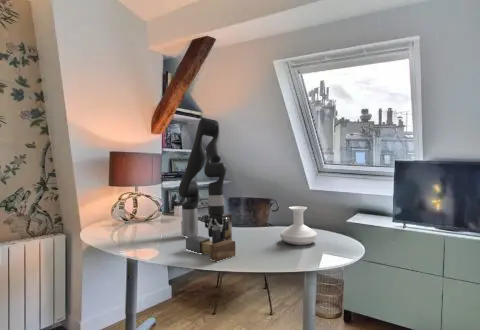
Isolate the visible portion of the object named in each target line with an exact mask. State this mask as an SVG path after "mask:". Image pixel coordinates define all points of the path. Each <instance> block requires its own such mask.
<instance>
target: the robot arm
mask: <svg viewBox="0 0 480 330" xmlns="http://www.w3.org/2000/svg"><path fill="white" fill-rule="evenodd" d="M220 128H221V127H220V123H219V121H218V120H215V119H210V118H206V117H202V118H201V119H200V120H199V122H198V124H197V128H196V133H195V138H194V142H193V145H192V147H191V148H192V149H191V152H190V154H189V157H188V161H187V164H186V168H185V171H184V174H183V176H182V178H181V180H180V183H179V186H178V195H179V196H180V198H188V200H187V201H185V202H183V203H182V205H181V213H182V214H181V216H182V219H181V221H180V222H181V223H180V224H181V225H180V226H181V236H182V235H183V236H187V237H192V236H197V235H198V236H199V218H198V215H199V214H198V213H199V211H198V205H199V192H200V191H199V184H198V183H197V181H193V180H194V178H195V177H196V176H197V175H198V174H199V173H200V172H201V171H202V169H203V168H204V169H203V170H204V171H203V173H204V176H206V177H207V178H218V179H217V180H216V181H212V182H209V183H208V184H207V185H208V187H207V188H208V189H207V192H208V197H207V205H208V206H207V211H208V212H207V213H208V214H207V215H206V214H205V216H204V227H205V228H206V229H207V232H208V234H207V235H208V238H212V230H213V226H214V225H216V226H218V228H219V229H220V231H221V232H220V239H221V240H223V239H225V231H227V230H229V225H228V218H224V217H223V214H225V204H224V203H225V198H224V181H225V178H226V174H227V165H226V164H225V163H224V162H221V159H222V158H221V157H222V156H221V150H220V138H221V137H220V134H221V133H220V132H221V131H220V130H221V129H220ZM203 136H205V137H212V138H211V140H210V141H209V142H208V144H207V145H206V148H205V147H204V145H203ZM222 228H223V229H222Z"/></svg>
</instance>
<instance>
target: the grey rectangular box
mask: <svg viewBox="0 0 480 330" xmlns="http://www.w3.org/2000/svg"><path fill="white" fill-rule="evenodd" d="M207 240H208V241H211V237H204V236H200V235H198V236H192V237H188V238H185V250H186V249H188V250H191V251H194V252H197V253H201V242H203V241H207Z"/></svg>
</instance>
